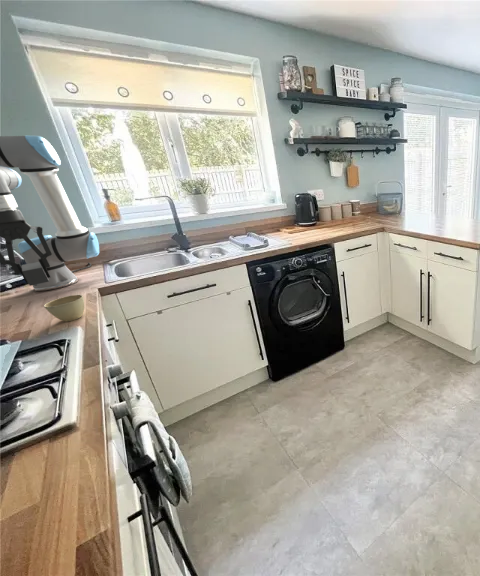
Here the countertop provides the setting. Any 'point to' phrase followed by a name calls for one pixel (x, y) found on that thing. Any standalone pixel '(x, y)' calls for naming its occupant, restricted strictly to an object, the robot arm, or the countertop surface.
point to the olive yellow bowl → (66, 307)
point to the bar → (34, 273)
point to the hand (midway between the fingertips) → (38, 279)
